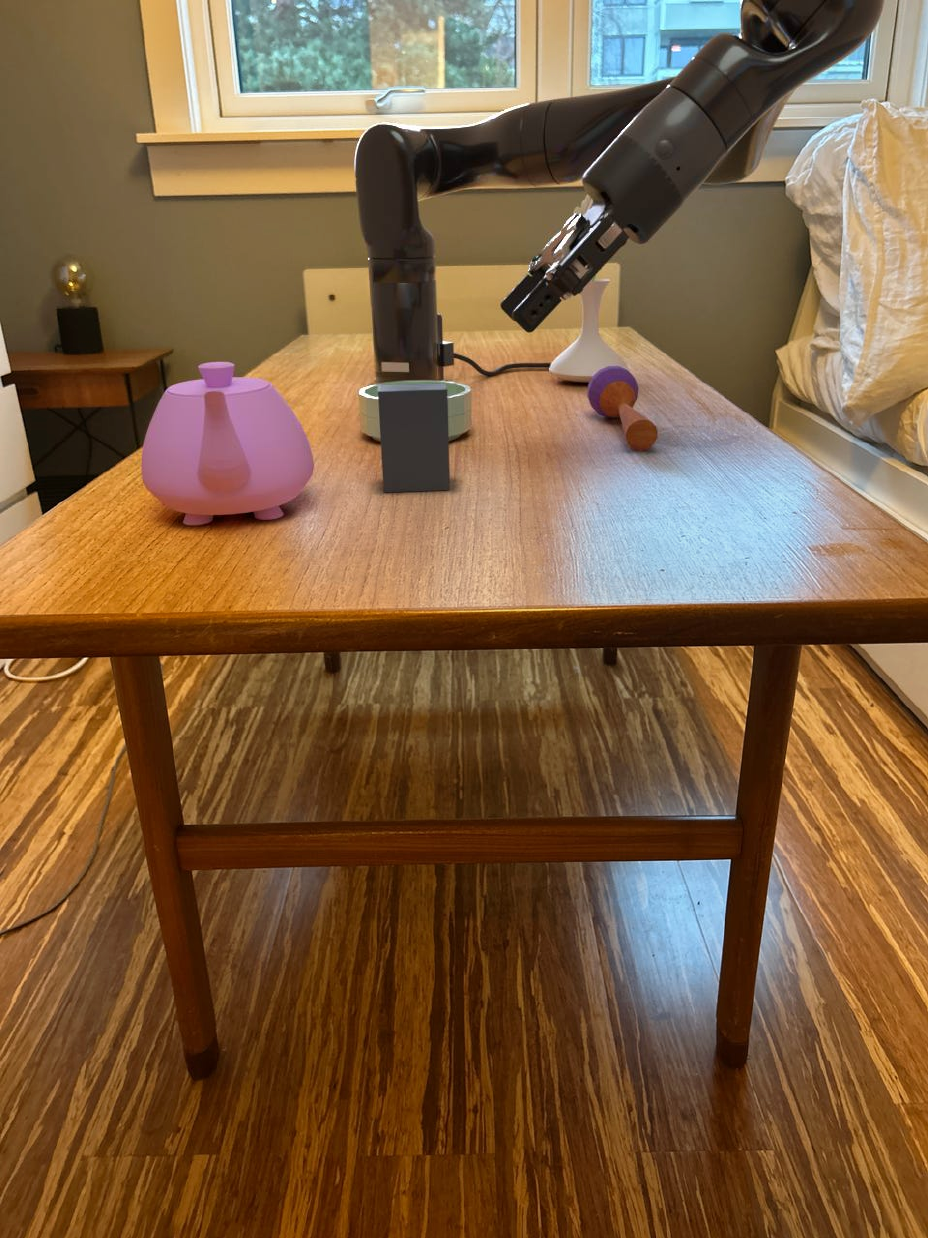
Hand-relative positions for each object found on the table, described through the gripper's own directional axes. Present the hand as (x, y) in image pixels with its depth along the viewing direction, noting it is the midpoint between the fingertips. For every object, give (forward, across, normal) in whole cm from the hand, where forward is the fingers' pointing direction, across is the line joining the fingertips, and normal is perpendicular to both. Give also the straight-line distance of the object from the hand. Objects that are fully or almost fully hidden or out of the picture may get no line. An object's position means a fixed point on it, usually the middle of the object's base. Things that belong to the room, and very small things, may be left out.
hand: (513, 319), depth 77 cm
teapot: (+28, -5, +7) cm, 29 cm away
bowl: (+16, +21, -4) cm, 27 cm away
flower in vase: (-2, +51, -22) cm, 56 cm away
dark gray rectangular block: (+16, 0, -4) cm, 17 cm away
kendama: (0, +20, -21) cm, 29 cm away
